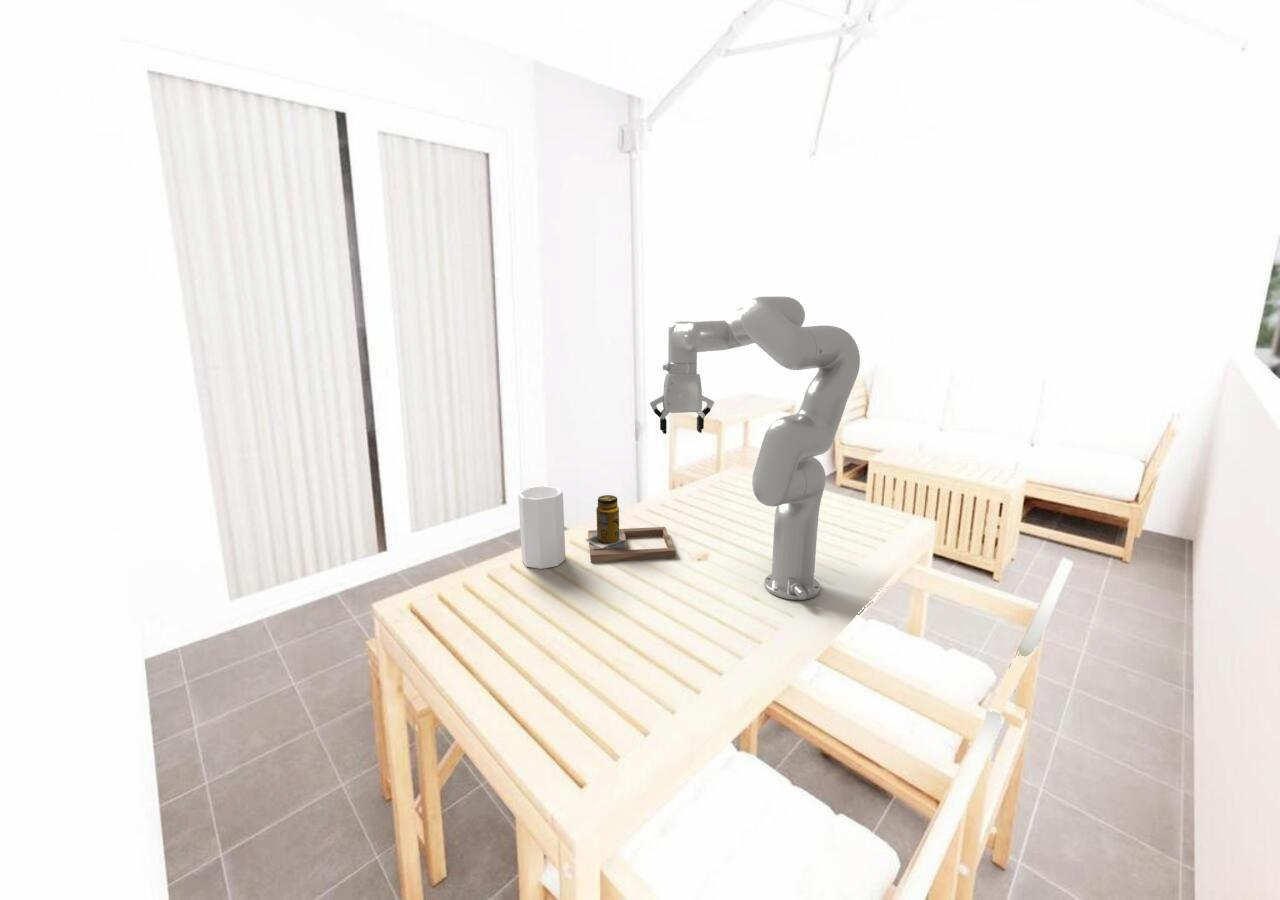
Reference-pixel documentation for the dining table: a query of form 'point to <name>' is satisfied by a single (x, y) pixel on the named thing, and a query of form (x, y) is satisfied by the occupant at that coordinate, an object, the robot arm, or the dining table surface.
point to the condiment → (607, 522)
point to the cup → (542, 526)
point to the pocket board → (623, 553)
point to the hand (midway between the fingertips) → (681, 432)
